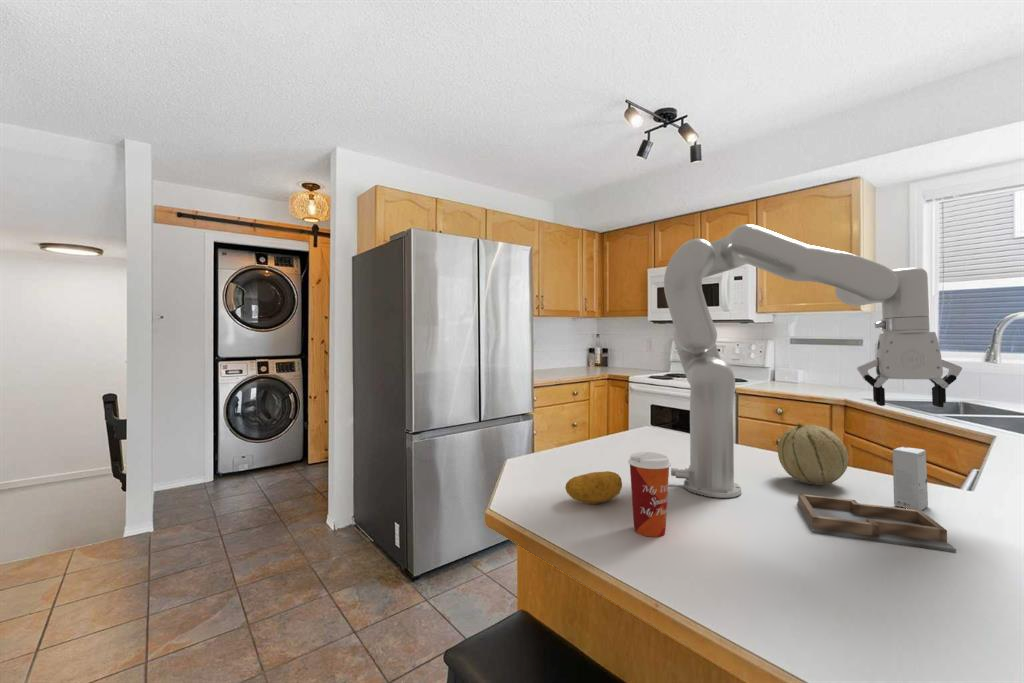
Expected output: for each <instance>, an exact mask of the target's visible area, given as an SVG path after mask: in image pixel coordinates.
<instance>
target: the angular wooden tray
mask: <svg viewBox="0 0 1024 683" xmlns="http://www.w3.org/2000/svg"><path fill="white" fill-rule="evenodd" d="M797 496H798V497H797V500H798V501H797V505H798V507H799V509H800V511H801V513H802V515H803V516H804V518H805V519H806V522H808V525H809V527H810V529H811V530H812V532H813V534H814V533H815V534H822V535H829V536H837V537H845V538H851V539H852V538H853V539H856V540H857V539H858V540H865V541H870V542H871V541H872V542H873V541H874V542H880V543H885V544H887V543H888V544H894V545H902V546H908V547H915V548H922V547H923V549H928V548H931V550H936V549H938V550H937V551H944V552H949V553H950V552H951V553H957V549H956V548H955V547H954V546H952V544H950V543H949V542H948V530H947V529H946V528H945V527H943V526H942V525H941V524H939V523H938V522H937V521H935V520H934V519H933V518H932V517H930V516H929V515H927V514H926V513H925V512H924V511H923V510H913V509H905V508H901V507H894V506H886V505H879V504H878V505H877V504H876V505H875V504H867V503H859V502H858V501H856V500H855V499H850V498H849V499H847V498H839V497H829V496H822V495H813V494H804V493H798V494H797Z"/></svg>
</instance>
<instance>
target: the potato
mask: <svg viewBox="0 0 1024 683" xmlns="http://www.w3.org/2000/svg"><path fill="white" fill-rule="evenodd" d="M564 488H565V490H566V493H567V495H568V496H569V497H570V498H572V499H573V500H575V501H578V502H579V503H584V504H592V505H597V504H598V503H599V504H603V503H606V502H607V501H610V500H612V499H614V498H615V497H617V496H618V495H619V494H620V493H621V490H622V488H623V482H622V478H621V476H620V475H619V474H618V473H616V472H613V471H595V472H588V473H585V474H581V475H577V476H573V477H572V478H570V479H568V481H567V482H566V483H565V487H564ZM602 502H603V503H602Z"/></svg>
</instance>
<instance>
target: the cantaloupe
mask: <svg viewBox="0 0 1024 683" xmlns="http://www.w3.org/2000/svg"><path fill="white" fill-rule="evenodd" d="M796 425H797V426H794V427H792V428H790V429H788V430H786V431H785V432H784V433H783V434H782V436H781V437H780V439H779V440H778V443H777V444H778V445H777V456H778V460H779V463H780V464H781V467H782V468H783V470H784V471H785V472H786V473H787V474H788V475H789V476H790V477H791V478H793V479H794V480H796V481H798V482H801V483H804V484H807V485H808V484H809V485H819V486H820V485H829V484H833V483H835V482H836V481H838V480H839V479H840V478H842V476H843V475H844V474H845V472H846V471H847V469H848V465H849V459H850V458H849V454H848V450H847V447H846V445H845V444H844V442H843V441H842V439H840V437H839V436H838V435H837V434H836V433H834V432H833V431H832V430H830V429H828V428H826V427H825V426H821V425H817V424H804V425H803V424H801V423H800V422H799V423H797V424H796Z"/></svg>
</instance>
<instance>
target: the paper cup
mask: <svg viewBox="0 0 1024 683" xmlns="http://www.w3.org/2000/svg"><path fill="white" fill-rule="evenodd" d="M627 462H628V464H629V471H630V487H631V489H630V490H631V502H632V504H631V505H632V517H633V518H632V519H633V527H634V528H633V529H634V531H635V532H636V533H637V534H638V535H641V536H643V537H648V538H659V537H663V536H664V535H665V534H666V528H667V527H666V526H667V525H666V524H667V513H668V512H667V511H668V492H669V475H670V474H669V473H670V467H671V466H672V464H671V462H670V459H669V457H668V456H667V455H666V454H662V453H657V452H651V451H637V452H632V453H631V454H630V456H629V459H628V460H627Z"/></svg>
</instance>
